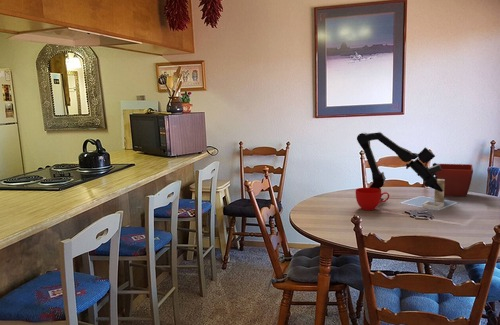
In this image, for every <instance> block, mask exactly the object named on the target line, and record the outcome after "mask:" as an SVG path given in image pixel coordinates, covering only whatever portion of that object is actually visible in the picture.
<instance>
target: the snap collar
mask: <svg viewBox="0 0 500 325" xmlns="http://www.w3.org/2000/svg"><path fill="white" fill-rule="evenodd" d="M428 204H432V205H428ZM435 205H438V206H435ZM443 206H444V203H441V202H433V201H427V202H425V203H423V204H422V207H426V208H433V209H440V208H441V207H443ZM426 208H425V209H426Z"/></svg>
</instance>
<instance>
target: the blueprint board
mask: <svg viewBox="0 0 500 325" xmlns="http://www.w3.org/2000/svg"><path fill="white" fill-rule="evenodd" d="M427 201H433V202H434V197H429V196H423V195H419V196H416V197H412V198H409V199H406V200H402V201H400V202H399V204H402V205H404V206H405V205H406V206H407V205H408V206H411V207H418V208H422V209H427V210H432V211H437V212H440V211H442V210H444V209H447V208H450V207H453V206H456V205H457V204H459V203H460V202H458V201H452V200H448V199H444V206H443V207H441V208H440V209H433V208H426V207H422V204H423V203H425V202H427ZM428 205H432V204H428ZM435 206H438V205H435Z"/></svg>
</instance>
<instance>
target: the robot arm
mask: <svg viewBox="0 0 500 325" xmlns="http://www.w3.org/2000/svg"><path fill="white" fill-rule="evenodd" d="M356 140H357V143H358V144H359V146H360V147H361V148H362V150H363V153H364V155H365V157H366V161H367V163H368V166H369V168H370V172H371V178H372V179H371V180H372V182H371V184H370V185H369V186H368V188H377V189H380V190H381V191H382V187H384V185H385V183H386V176H385V173H384V171H382V172H381V171H380V169H379V167H378V164H377V161H376V159H375V156H374V153H373V151H372V148H371V141H376V140H377V141H379V142H380V143H382V144H383V145H384V146H386V147H387V148H388V149H390V150H391V151H392V152H394V153H395V154H396V155H397V157H398V158H399V159H400V160H401V161H402V162H404V163H405V166H406V170H408V169H409V168H411V170H413V171H414V172H415V173H416V175H417V176H418V177H419V178H421V179H422V181H423V185H424V186H425V187H426V188H430V189H433V190H434V191H435V190H438V191H440V192H442V191H443V190H442V188H441V187H440V186H439V184H438V183H437V176H435V175H436V174H437V173H435V172H438V171H441V170H442V169H441V166H440V164H441V163H436V162H434V163H432V166H431V165H430V167H429V166H426V165H424V164H425V163H426V164H428V163H430V162H431V161H432V160H433V159H434V158H435V157H436V154H434V153H433V152H432V151H431V150H429V149H428V148H427V147H424V148H423V149H422V150H421V151H419V152H417V153H416V152H412V151H410V150H409V149H407V148H404V147H402V146H400V145H398V144H397V143H395V142H394V141H393V140H391V139H390V138H389V137H387V136H386V135H385V134H383V133H382V132H381V131H377V132H371V133H369V132H368V133H367V132H364V131H363V132H361V133H359V134H358V135H357V136H356ZM383 200H384V198H382V197H381V200H380V201H383Z"/></svg>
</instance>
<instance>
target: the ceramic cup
mask: <svg viewBox="0 0 500 325" xmlns="http://www.w3.org/2000/svg"><path fill="white" fill-rule="evenodd" d="M383 195H387V197H386V198H385V199H383V200H381V198H382V196H383ZM389 198H390V194H389V193H388V192H386V191H385V192H382V189H381V190H380V189H377V188H369V187H360V188H359V187H358V188H356V189H355V199H356V202H357V205H358V206H359V207H360V208H361V209H362V210H363V211H375V209H376V208H377V207H378V206H379V205H380V204H382V203H384V202H386V201H388V200H389Z"/></svg>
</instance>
